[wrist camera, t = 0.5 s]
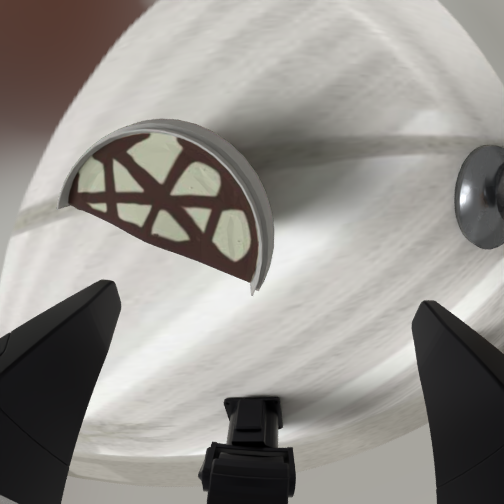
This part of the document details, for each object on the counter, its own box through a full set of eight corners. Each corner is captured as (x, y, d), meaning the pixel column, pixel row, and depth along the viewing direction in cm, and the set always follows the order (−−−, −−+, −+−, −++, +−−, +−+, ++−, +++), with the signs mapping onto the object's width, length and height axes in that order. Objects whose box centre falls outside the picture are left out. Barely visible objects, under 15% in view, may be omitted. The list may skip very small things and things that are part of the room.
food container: (299, 162, 20) (323, 178, 11) (266, 234, 23) (263, 300, 13) (152, 107, 19) (76, 91, 10) (128, 177, 22) (49, 206, 12)
